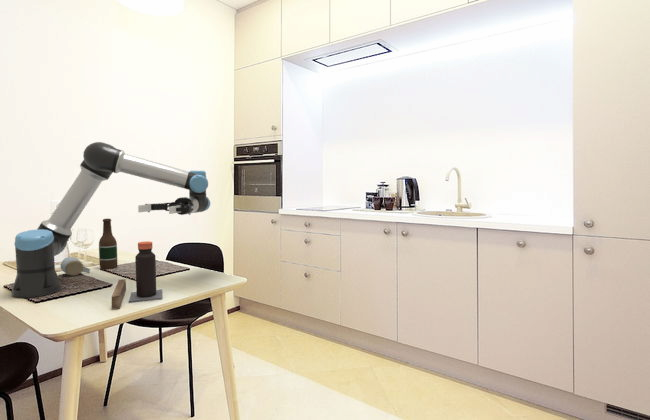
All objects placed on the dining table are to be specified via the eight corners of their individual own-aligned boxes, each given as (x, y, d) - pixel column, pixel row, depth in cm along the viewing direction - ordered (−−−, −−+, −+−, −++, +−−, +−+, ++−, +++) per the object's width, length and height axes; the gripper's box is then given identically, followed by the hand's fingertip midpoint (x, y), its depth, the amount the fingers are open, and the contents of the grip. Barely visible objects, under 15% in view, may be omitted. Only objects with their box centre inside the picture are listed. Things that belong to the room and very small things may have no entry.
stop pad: (128, 302, 136) (128, 301, 136) (131, 293, 146) (131, 292, 146) (162, 299, 140) (162, 297, 140) (162, 290, 150) (162, 289, 150)
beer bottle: (101, 266, 188) (99, 218, 186) (119, 265, 190) (117, 217, 188) (97, 269, 181) (95, 219, 178) (115, 269, 183) (114, 219, 181)
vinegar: (137, 293, 145) (135, 241, 143) (156, 291, 148) (155, 240, 146) (136, 298, 139) (134, 244, 137) (156, 296, 141) (155, 243, 140)
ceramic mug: (65, 277, 167) (65, 260, 166) (60, 274, 172) (60, 257, 171) (92, 273, 174) (92, 257, 174) (87, 270, 180) (86, 254, 179)
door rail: (111, 309, 129) (111, 296, 129) (119, 290, 149) (118, 279, 149) (119, 308, 130) (119, 295, 130) (126, 290, 150) (125, 279, 150)
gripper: (211, 215, 165) (183, 220, 145) (161, 212, 171) (126, 217, 150) (211, 198, 165) (183, 201, 144) (160, 196, 170) (126, 198, 150)
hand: (154, 209), depth 147 cm, fingers open, 13 cm apart
